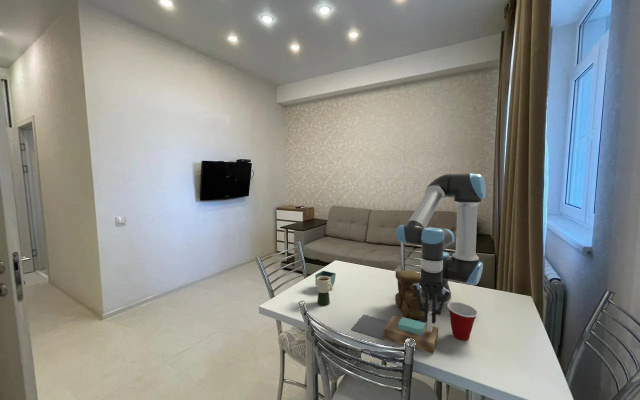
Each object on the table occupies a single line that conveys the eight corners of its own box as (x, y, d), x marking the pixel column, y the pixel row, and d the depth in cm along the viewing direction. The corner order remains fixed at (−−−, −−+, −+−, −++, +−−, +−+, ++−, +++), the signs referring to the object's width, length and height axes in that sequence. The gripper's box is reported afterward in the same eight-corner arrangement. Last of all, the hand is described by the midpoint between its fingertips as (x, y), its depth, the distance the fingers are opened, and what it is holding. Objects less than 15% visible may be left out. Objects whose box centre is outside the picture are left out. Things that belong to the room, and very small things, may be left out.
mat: (393, 323, 117) (393, 322, 117) (383, 340, 105) (383, 339, 105) (363, 315, 125) (363, 314, 125) (350, 329, 113) (350, 329, 113)
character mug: (336, 304, 135) (336, 279, 134) (327, 309, 130) (327, 283, 129) (320, 297, 143) (320, 273, 142) (310, 302, 137) (310, 277, 136)
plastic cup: (475, 348, 100) (476, 317, 99) (443, 339, 106) (444, 309, 105) (478, 334, 109) (479, 306, 108) (448, 326, 115) (449, 299, 114)
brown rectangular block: (438, 337, 107) (438, 327, 107) (433, 354, 97) (433, 343, 97) (393, 324, 116) (393, 315, 116) (384, 338, 106) (384, 329, 106)
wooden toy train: (393, 302, 137) (393, 270, 136) (415, 302, 137) (416, 270, 136) (405, 323, 117) (406, 286, 116) (431, 323, 117) (432, 286, 116)
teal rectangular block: (425, 327, 107) (425, 323, 106) (422, 335, 101) (422, 330, 101) (402, 321, 111) (402, 317, 111) (398, 328, 106) (398, 323, 106)
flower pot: (336, 288, 155) (336, 273, 154) (328, 293, 147) (328, 278, 146) (323, 285, 159) (323, 270, 159) (314, 290, 152) (314, 274, 151)
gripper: (451, 269, 101) (449, 329, 103) (415, 263, 107) (414, 320, 109) (449, 275, 94) (447, 340, 96) (411, 269, 101) (409, 329, 103)
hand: (429, 329), depth 103 cm, fingers closed
